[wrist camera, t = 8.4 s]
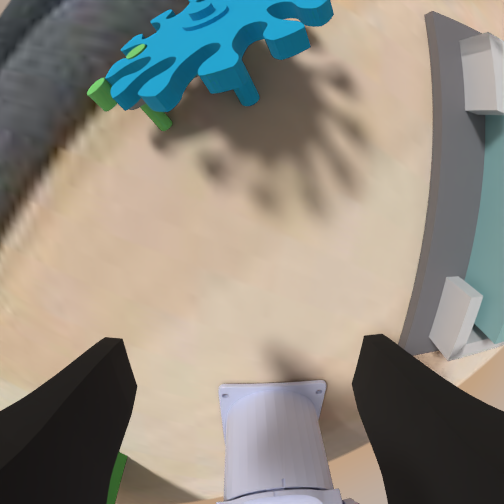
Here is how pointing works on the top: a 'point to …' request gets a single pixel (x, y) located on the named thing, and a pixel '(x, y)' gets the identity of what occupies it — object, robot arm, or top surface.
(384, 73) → the top surface
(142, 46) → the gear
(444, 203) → the cradle
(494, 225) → the teal rectangular block
